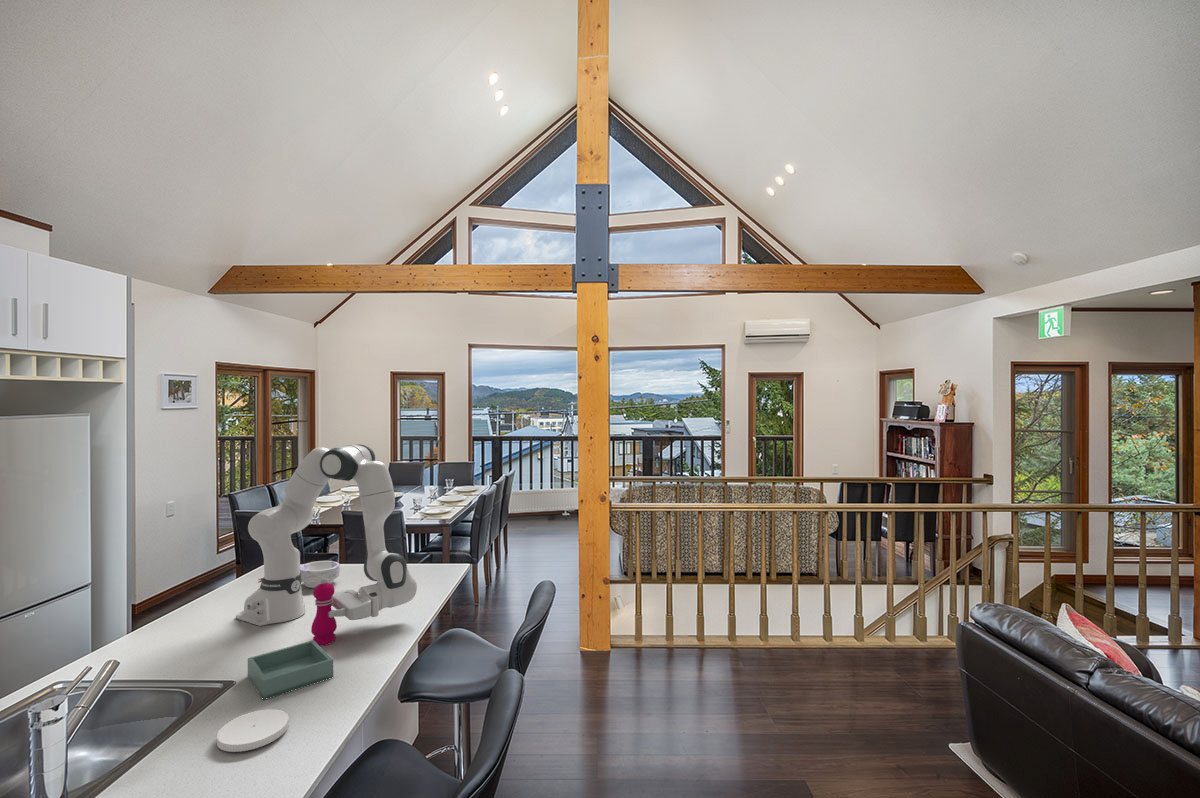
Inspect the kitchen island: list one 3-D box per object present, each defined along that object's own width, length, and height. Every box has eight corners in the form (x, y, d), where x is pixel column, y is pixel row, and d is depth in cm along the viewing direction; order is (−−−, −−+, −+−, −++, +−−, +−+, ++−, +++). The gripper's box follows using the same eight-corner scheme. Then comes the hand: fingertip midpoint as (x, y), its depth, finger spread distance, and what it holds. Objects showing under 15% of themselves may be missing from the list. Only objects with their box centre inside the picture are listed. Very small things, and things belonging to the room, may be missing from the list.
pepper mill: (341, 638, 181) (341, 576, 180) (324, 648, 174) (324, 583, 174) (324, 635, 183) (324, 573, 183) (305, 644, 176) (305, 580, 176)
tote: (247, 676, 156) (247, 658, 156) (313, 656, 168) (313, 640, 168) (263, 700, 144) (263, 680, 144) (333, 677, 156) (333, 659, 156)
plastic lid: (214, 733, 130) (214, 722, 130) (283, 713, 139) (283, 702, 139) (218, 765, 119) (218, 753, 119) (293, 740, 128) (293, 729, 128)
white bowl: (347, 582, 235) (347, 563, 235) (312, 593, 222) (312, 573, 222) (325, 576, 243) (325, 558, 243) (290, 586, 230) (290, 567, 230)
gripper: (356, 582, 195) (312, 591, 186) (379, 598, 180) (334, 609, 171) (355, 600, 195) (312, 611, 186) (379, 617, 180) (334, 629, 171)
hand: (323, 610), depth 178 cm, fingers open, 8 cm apart
